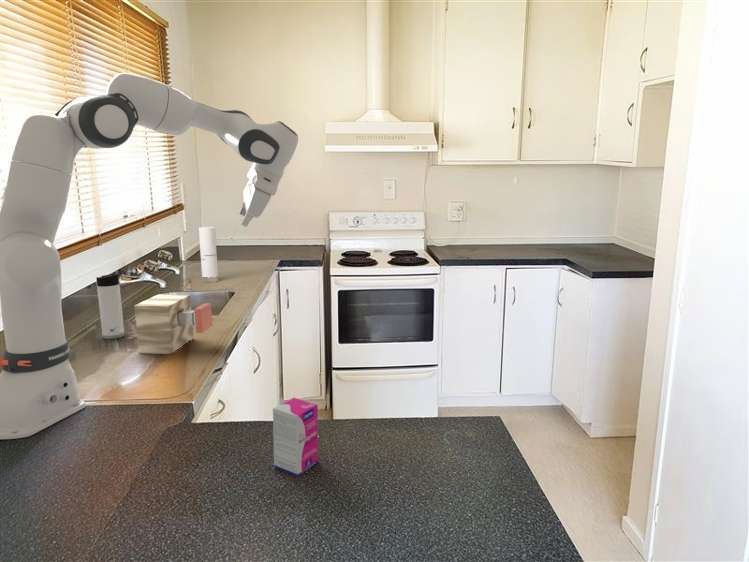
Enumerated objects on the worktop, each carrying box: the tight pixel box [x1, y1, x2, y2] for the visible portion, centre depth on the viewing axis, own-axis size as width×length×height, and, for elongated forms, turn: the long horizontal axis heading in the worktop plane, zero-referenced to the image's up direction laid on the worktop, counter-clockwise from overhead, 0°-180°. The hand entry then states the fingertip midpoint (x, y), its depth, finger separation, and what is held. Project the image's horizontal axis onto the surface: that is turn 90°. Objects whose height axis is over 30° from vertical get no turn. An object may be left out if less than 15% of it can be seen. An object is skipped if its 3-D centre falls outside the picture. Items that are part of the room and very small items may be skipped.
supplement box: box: [272, 397, 319, 477], centre depth 97 cm, size 6×6×12 cm
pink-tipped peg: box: [177, 302, 213, 334], centre depth 161 cm, size 7×14×7 cm, turn 84°
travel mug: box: [96, 273, 125, 340], centre depth 171 cm, size 6×7×20 cm
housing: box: [133, 293, 194, 355], centre depth 162 cm, size 14×10×14 cm
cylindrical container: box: [198, 226, 219, 278], centre depth 251 cm, size 7×7×25 cm
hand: (242, 219), depth 160 cm, fingers open, 8 cm apart
